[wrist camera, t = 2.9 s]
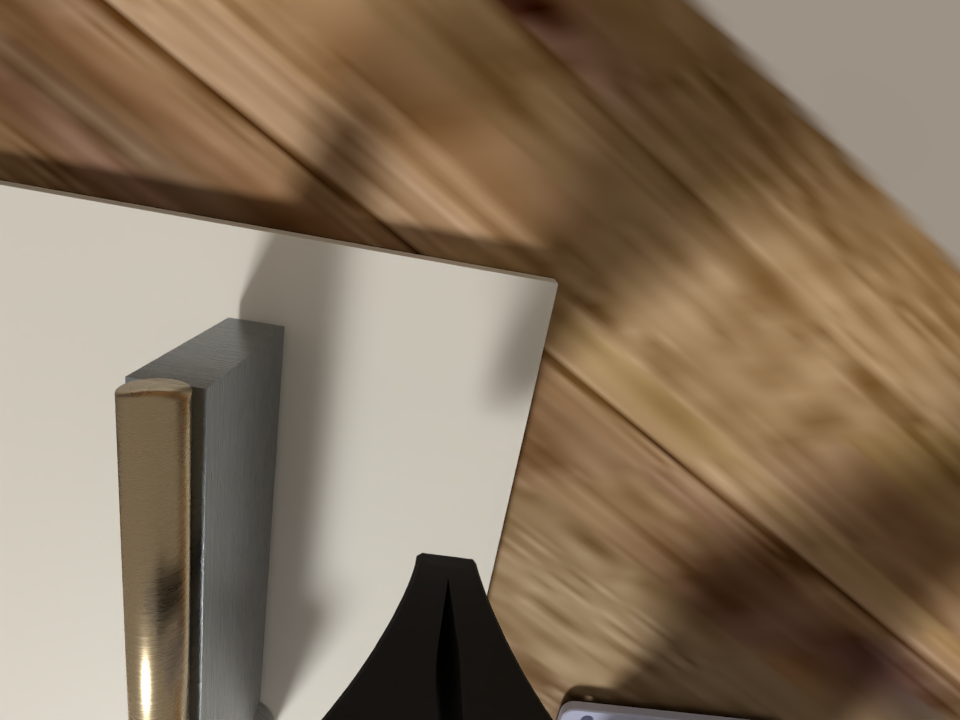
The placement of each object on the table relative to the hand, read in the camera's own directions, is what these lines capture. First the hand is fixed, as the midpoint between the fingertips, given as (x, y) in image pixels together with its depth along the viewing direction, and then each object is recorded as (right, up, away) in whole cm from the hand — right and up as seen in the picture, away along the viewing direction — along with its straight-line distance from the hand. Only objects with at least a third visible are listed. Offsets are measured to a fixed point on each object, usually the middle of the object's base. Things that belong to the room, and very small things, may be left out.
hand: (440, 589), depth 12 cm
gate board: (-8, -2, +6) cm, 10 cm away
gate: (-6, 0, +4) cm, 8 cm away
